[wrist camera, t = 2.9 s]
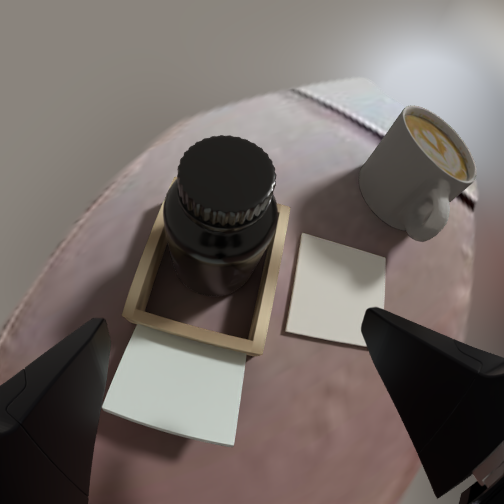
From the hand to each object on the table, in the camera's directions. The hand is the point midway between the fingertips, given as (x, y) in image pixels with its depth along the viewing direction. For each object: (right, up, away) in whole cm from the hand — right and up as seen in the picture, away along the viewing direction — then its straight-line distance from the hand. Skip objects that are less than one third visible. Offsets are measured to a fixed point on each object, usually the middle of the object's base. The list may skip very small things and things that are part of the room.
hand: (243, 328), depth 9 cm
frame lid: (-5, -7, +11) cm, 14 cm away
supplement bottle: (-3, +2, +15) cm, 16 cm away
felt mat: (+8, -1, +16) cm, 18 cm away
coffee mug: (+16, +8, +21) cm, 28 cm away
